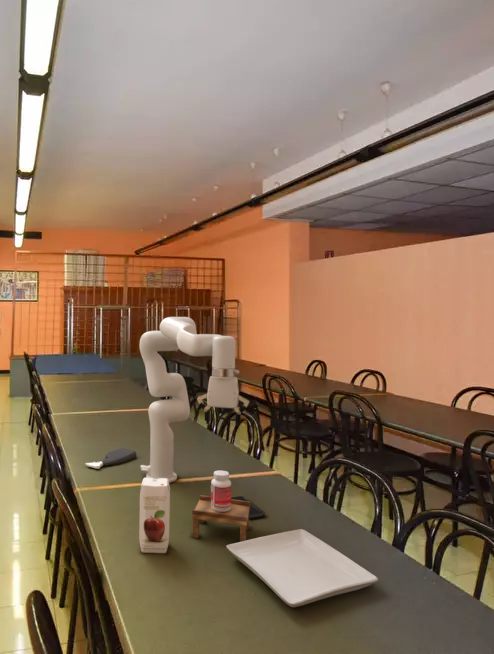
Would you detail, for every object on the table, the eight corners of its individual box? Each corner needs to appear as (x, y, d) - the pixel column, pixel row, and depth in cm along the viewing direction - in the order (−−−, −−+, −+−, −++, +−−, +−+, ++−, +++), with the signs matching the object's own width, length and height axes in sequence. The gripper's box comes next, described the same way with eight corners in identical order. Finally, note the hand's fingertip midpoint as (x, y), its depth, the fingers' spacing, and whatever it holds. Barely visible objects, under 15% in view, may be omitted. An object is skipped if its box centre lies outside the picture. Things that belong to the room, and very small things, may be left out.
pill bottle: (235, 509, 138) (235, 473, 138) (220, 514, 134) (220, 477, 134) (221, 502, 143) (222, 467, 143) (206, 506, 139) (207, 471, 139)
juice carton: (140, 540, 132) (141, 476, 132) (169, 541, 132) (170, 476, 132) (138, 554, 124) (139, 485, 124) (169, 555, 124) (170, 486, 124)
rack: (191, 537, 134) (192, 510, 134) (199, 520, 146) (200, 494, 146) (246, 546, 130) (246, 517, 130) (249, 527, 141) (250, 501, 141)
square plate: (291, 620, 98) (291, 603, 98) (224, 557, 123) (224, 543, 123) (380, 592, 109) (380, 576, 109) (302, 539, 134) (302, 526, 134)
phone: (245, 516, 146) (223, 498, 160) (245, 519, 146) (223, 501, 160) (266, 513, 149) (243, 495, 163) (266, 516, 149) (243, 498, 163)
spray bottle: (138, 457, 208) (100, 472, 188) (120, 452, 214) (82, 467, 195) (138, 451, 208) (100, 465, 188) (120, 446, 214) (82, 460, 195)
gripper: (250, 373, 150) (249, 424, 151) (199, 370, 155) (199, 419, 155) (248, 375, 143) (247, 429, 143) (195, 373, 148) (194, 424, 148)
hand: (222, 424), depth 149 cm, fingers open, 9 cm apart
